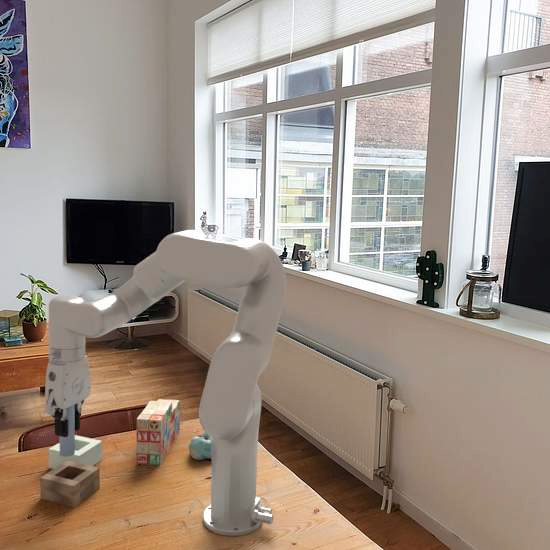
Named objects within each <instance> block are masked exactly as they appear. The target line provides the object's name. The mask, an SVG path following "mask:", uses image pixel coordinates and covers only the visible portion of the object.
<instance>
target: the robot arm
mask: <svg viewBox="0 0 550 550" xmlns="http://www.w3.org/2000/svg"><path fill="white" fill-rule="evenodd" d="M132 273H133V274H132V277H131V278H129V279H128V280H127V281H126V282H124V284H122V285H121V286H119V287H118V288H116V289H115V290H114V291H112V292H111V293H109V294H107V295H106V296H102V297H99V298H97V299H94V300H91V301H88V302H87V301H85V300H84V299H83V298H82V297H80V296H76V295H61V296H60V295H59V296H56V297H53V298H51V299H50V301H49V302H48V355H47V356H48V362H47V367H46V375H45V387H44V389H45V390H44V391H45V392H44V399H45V404H46V406H45V408H44V411H43V412H44V414H46V415H50V416H51V417H52V419H54V435H55V436H58V437H60V436H62V437H67V436H68V419H66V415H67V408H69V407H71V406H73V405H75V431H79V430H80V429H81V414H80V413H81V412H82V411H83V404H84V402H85V400H86V399H88V398H89V397H90V395H91V390H92V389H91V386H92V385H91V370H90V364H89V359H88V356H87V355H86V338H89V339H95V338H100V337H102V336H104V335H106V334H108V333H110V332H112V331H114V330H117V329H118V328H121V327H122V326H124V325H125V324H127V323H128V322H130V321H132V320H133V319H134V318H136V317H137V316H138V315H140V314H141V313H143V312H144V311H146V310H147V309H148V308H149V307H151V306H152V305H154V304H155V303H157V302H159V301H160V300H161V299H162V298H164V297H165V296H167V295H168V294H170V293H171V292H172V291H173V290H175V289H176V288H178V287H179V286H180V285H182V284H184V283H185V282H186V281H187V282H192V283H197V284H204V285H210V286H215V287H220V288H226V289H227V288H228V289H239V288H244V290H243V294H242V297H241V299H240V302H239V306H238V309H237V315H236V317H235V321H234V324H233V327H232V330H231V333H230V335H229V336H227V338H225V340H223V341H222V342H221V344H220V345H219V346H218V347H217V348H216V350H215V351H214V354H213V356H212V358H211V361H210V364H209V367H208V371H207V376H206V379H205V383H204V388H203V390H202V395H201V398H200V402H199V408H198V419H199V422H200V425H201V428H202V430H203V431H204V433H205V432H206V433H207V434H208V435H209V436H210V437H211V438H212V439H211V440H212V459H211V469H210V470H211V473H210V474H211V479H210V482H211V483H210V484H211V485H210V486H211V487H210V505H209V506H207V507H206V508H205V510H204V511H203V513H202V514H203V517H202V520H203V524H204V526H205V527H206V528H207V529H209V530H210V531H212V532H213V533H215V534H219V535H222V536H229V537H234V536H235V537H236V536H243V535H247V534H250V533H251V532H254V531H255V530H257V529H258V528H259V527H260V526H261V524H268V525H272V524H273V523H274V522H273V521H274V514H272V512H273V510H272V508H271V507H263V505H261V497H257V476H258V475H257V473H258V472H257V471H258V467H257V466H258V450H259V447H258V446H259V445H258V444H259V430H260V429H259V428H260V421H261V420H260V419H261V412H262V392H261V389H260V386H259V385H258V380H259V378H260V376H261V374H262V373H263V372H264V370H265V369H266V368H267V366H268V364H269V362H270V359H271V355H272V350H273V346H274V343H275V338H276V335H277V331H278V328H279V323H280V318H281V316H282V315H281V314H282V311H283V306H284V302H285V298H286V293H287V292H286V290H287V275H286V271H285V267H284V263H283V261H282V260H281V258H280V256H279V255H278V254H277V252H276V251H275V249H273V248H272V247H271V246H270V245H269V244H267V243H266V242H264V241H263V240H260V239H258V238H252V237H249V238H247V237H246V238H241V239H239V240H236V241H232V242H227V241H220V240H212V239H210V238H209V237H208V235H206V234H205V233H204V232H202V231H199V230H196V229H186V230H182V231H178V232H172V233H171V234H168V235H166V236H165V237H164V238H163V239H161V241H160V242H159V243H158V246H157V248H156V250H155V251H154V252H153V253H151V254H149V256H147V257H146V258H145V259H143V260H142V261H140V262H139V263H137V264H136V265H135V266H134V267H133V272H132ZM59 409H61V412H59Z"/></svg>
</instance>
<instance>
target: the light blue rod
mask: <svg viewBox="0 0 550 550" xmlns="http://www.w3.org/2000/svg"><path fill="white" fill-rule="evenodd" d="M58 411H59V412H61V409H59V410H58ZM66 419H68V436H67V437H62V436H59V443H60V456H63V457H68V456H72V455H74V453H75V435H76V434H75V433H76V430H75V405H73V406H71V407H69V408H67V415H66Z"/></svg>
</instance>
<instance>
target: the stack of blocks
mask: <svg viewBox="0 0 550 550" xmlns="http://www.w3.org/2000/svg"><path fill="white" fill-rule="evenodd" d="M180 413H181V411H180V400H177V399H161V398H159V399H157V400H149V402H148V403H147V405H146V406H145V408H144V409H142V412H141V413H139V415H138V416H137V418H136V464H137V465H151V466H152V465H153V466H154V465H155V466H161V465H162V464H163V461H164V460H165V459H166V457H167V455H168V453H169V451H170V449H171V447H172V445H173V443H174V440H176V438H177V436H178V434H179V432H180V431H179V430H181V429H180V427H181V423H180V421H181V419H180V418H181V416H180Z"/></svg>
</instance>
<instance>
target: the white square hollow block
mask: <svg viewBox="0 0 550 550" xmlns="http://www.w3.org/2000/svg"><path fill="white" fill-rule="evenodd" d="M103 457H104V456H103V440H101V439H100V440H99V439H96V438H95V439H94V438H90V437H87V436H82V435H81V436H80V435H77V434H75V453H74V455H72V456H68V457H63V456H60V442H59V443H56V444H55V445H53V446H52V447H50V448H48V468H49V469H51V470H53V469H55V468H56V467H58V466H59V465H61V464H62V463H64V462H66V461H67V460H68V461H72V462H76V463H81V464H85V465H89V466H94V467H95V465H97V464H99V463H100V462H101V461H103Z"/></svg>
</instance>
